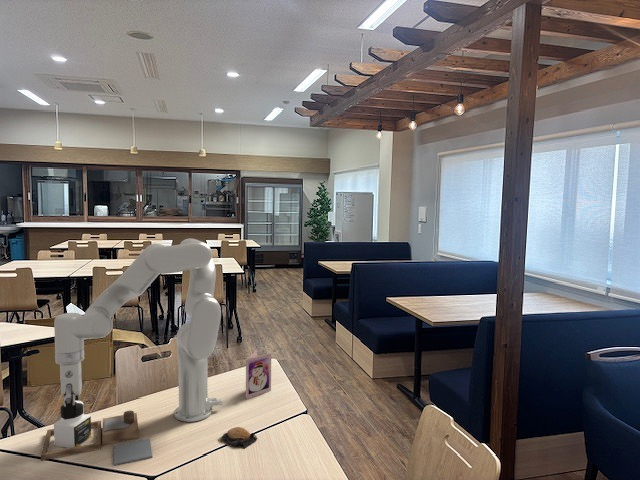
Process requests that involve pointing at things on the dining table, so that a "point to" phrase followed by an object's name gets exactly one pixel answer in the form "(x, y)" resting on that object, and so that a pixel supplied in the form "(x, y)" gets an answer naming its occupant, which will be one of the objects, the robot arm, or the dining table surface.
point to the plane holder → (111, 433)
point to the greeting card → (258, 374)
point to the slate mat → (132, 451)
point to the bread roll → (238, 438)
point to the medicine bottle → (72, 428)
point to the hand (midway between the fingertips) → (71, 411)
